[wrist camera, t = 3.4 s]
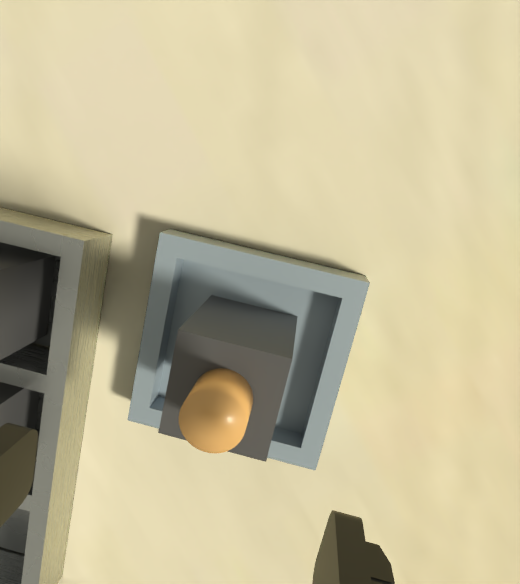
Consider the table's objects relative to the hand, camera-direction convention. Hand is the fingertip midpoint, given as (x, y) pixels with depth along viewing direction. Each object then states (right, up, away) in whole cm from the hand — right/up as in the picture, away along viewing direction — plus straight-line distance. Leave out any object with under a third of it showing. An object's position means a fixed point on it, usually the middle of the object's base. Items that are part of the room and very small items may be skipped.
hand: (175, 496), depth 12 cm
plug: (+1, +3, +12) cm, 12 cm away
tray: (+1, +3, +12) cm, 13 cm away
